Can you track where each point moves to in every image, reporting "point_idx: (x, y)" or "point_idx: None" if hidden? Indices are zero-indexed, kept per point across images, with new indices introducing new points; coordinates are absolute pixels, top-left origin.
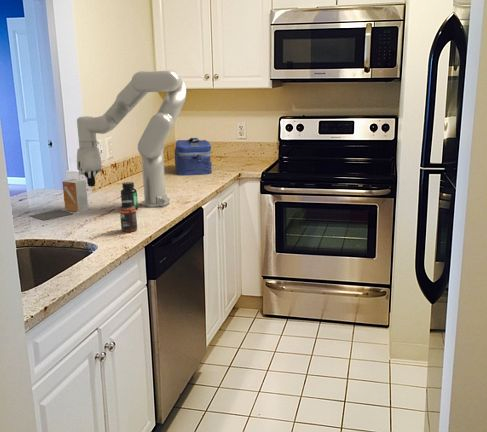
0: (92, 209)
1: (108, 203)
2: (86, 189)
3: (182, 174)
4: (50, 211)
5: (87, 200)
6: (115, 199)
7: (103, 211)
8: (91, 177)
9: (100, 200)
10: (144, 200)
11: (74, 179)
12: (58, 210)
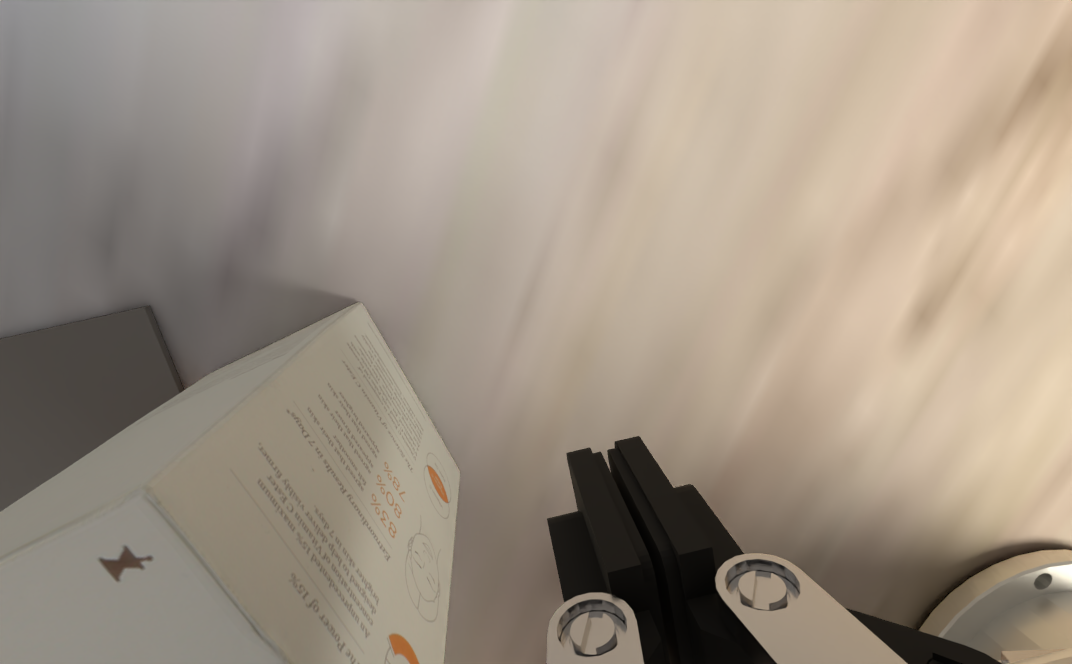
0: (489, 515)
1: (738, 355)
2: (443, 658)
3: None
4: (16, 360)
5: (453, 535)
6: (900, 202)
7: (545, 649)
8: (689, 643)
9: (748, 123)
10: (1010, 582)
11: (181, 600)
12: (122, 369)
